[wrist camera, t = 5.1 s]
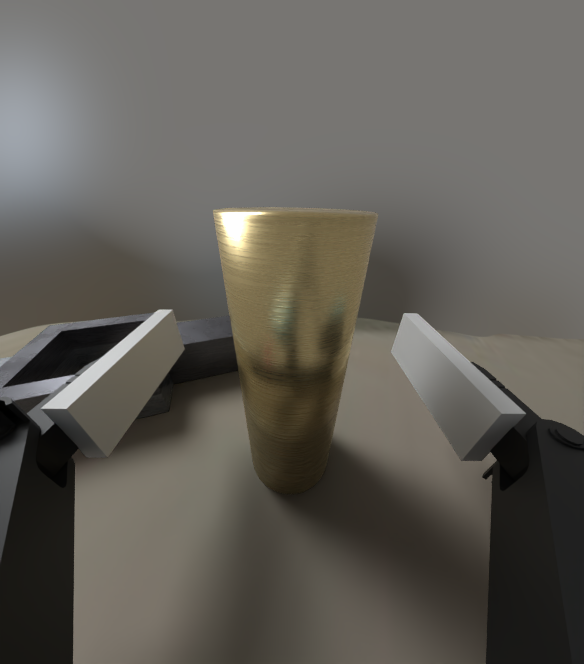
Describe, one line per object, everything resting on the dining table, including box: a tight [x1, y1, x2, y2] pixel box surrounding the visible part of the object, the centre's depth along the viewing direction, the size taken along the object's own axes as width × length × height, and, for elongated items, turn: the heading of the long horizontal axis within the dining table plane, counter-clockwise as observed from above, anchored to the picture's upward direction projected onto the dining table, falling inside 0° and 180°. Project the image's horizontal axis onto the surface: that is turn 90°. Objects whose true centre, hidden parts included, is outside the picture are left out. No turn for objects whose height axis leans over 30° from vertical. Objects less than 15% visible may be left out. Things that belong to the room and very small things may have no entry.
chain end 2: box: [0, 313, 238, 414], centre depth 19 cm, size 19×10×4 cm, turn 110°
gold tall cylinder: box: [213, 207, 378, 494], centre depth 10 cm, size 5×5×14 cm
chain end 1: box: [0, 342, 173, 419], centre depth 17 cm, size 19×10×3 cm, turn 110°
